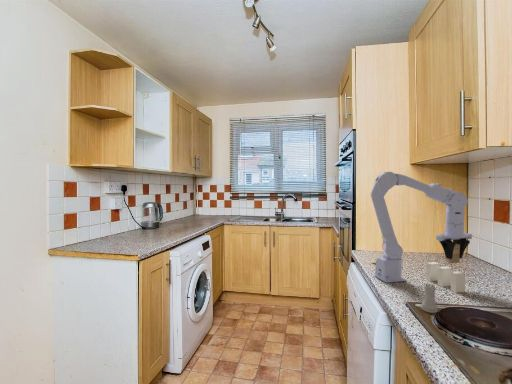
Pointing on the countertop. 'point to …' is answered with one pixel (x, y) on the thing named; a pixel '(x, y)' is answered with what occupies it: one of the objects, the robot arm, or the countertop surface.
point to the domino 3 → (455, 255)
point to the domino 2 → (444, 276)
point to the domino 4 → (458, 281)
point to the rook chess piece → (429, 299)
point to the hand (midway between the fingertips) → (453, 258)
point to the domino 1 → (432, 271)
